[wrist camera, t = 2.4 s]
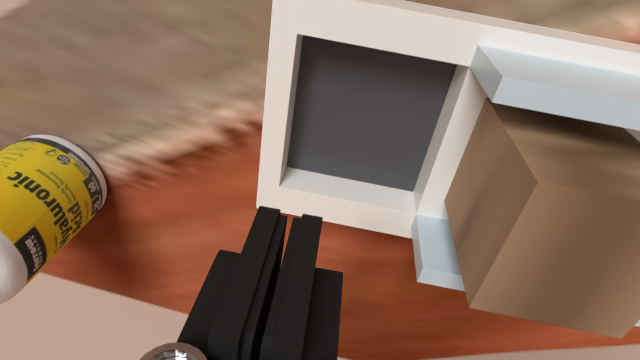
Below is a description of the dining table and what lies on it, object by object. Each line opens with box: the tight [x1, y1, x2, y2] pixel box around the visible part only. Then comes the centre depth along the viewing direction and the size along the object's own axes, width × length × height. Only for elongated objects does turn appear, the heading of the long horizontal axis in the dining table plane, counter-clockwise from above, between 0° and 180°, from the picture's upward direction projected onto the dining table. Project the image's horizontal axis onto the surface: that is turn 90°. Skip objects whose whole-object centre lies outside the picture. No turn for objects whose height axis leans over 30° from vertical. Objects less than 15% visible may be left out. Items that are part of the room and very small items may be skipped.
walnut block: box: [444, 97, 640, 339], centre depth 14 cm, size 5×5×6 cm
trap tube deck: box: [256, 0, 640, 327], centre depth 16 cm, size 26×10×6 cm, turn 81°
